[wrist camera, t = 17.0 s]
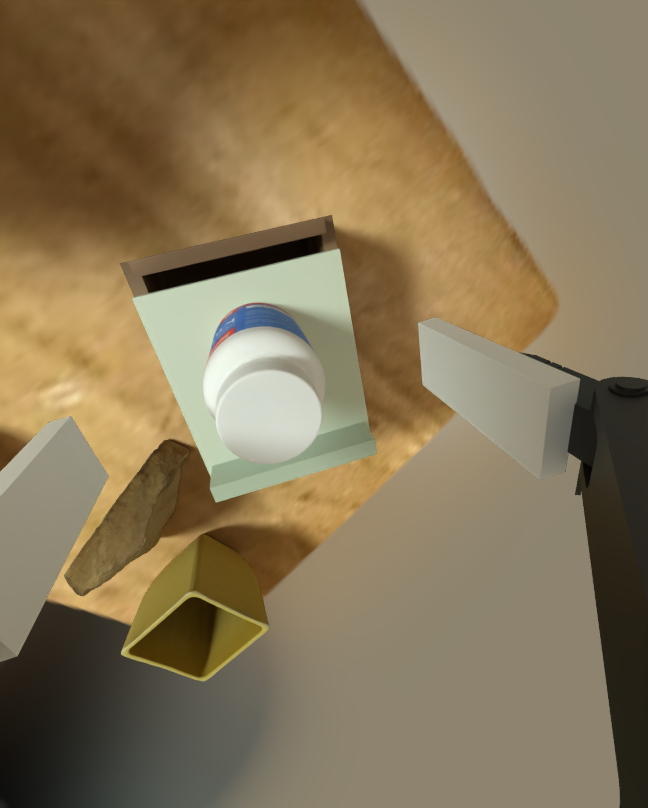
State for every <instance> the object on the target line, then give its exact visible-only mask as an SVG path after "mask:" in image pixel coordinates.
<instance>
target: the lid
mask: <svg viewBox="0 0 648 808" xmlns="http://www.w3.org/2000/svg"><path fill="white" fill-rule="evenodd" d="M132 300H133V302H134V305H135V307H136V309H137V311H138V314H139V316H140V318H141V320H142V323H143V325H144V327H145V329H146V332H147V334H148V336H149V338H150V341H151V343H152V345H153V348H154V350H155V352H156V354H157V357H158V359H159V361H160V363H161V366H162V368H163V370H164V372H165V375H166V377H167V379H168V382H169V384H170V386H171V388H172V391H173V393H174V395H175V397H176V400H177V402H178V404H179V406H180V409H181V411H182V413H183V415H184V418H185V420H186V422H187V425H188V427H189V429H190V431H191V434H192V436H193V438H194V440H195V443H196V445H197V447H198V449H199V452H200V454H201V456H202V459H203V461H204V463H205V465H206V468H207V470H208V472H209V474H210V477H211V481H210V491H211V493H212V495H213V497H214V499H215V502H216V503H217V502H220V501H223V500H227V499H230V498H233V497H237V496H240V495H243V494H246V493H250V492H253V491H256V490H260V489H263V488H266V487H270V486H273V485H276V484H279V483H283V482H286V481H289V480H293V479H296V478H299V477H303V476H306V475H309V474H312V473H316V472H319V471H322V470H326V469H329V468H332V467H336V466H339V465H342V464H345V463H349V462H352V461H355V460H359V459H362V458H365V457H368V456H372V455H375V454H377V449H376V443H375V439H374V437H373V436H372V434H371V433H370V427H369V421H368V415H367V409H366V403H365V397H364V391H363V385H362V379H361V373H360V367H359V361H358V355H357V349H356V344H355V338H354V332H353V326H352V320H351V314H350V308H349V302H348V296H347V290H346V284H345V278H344V272H343V266H342V260H341V254H340V249H332V250H328V251H324V252H320V253H316V254H311V255H307V256H303V257H299V258H295V259H290V260H286V261H282V262H278V263H274V264H270V265H265V266H261V267H257V268H253V269H249V270H244V271H240V272H236V273H232V274H228V275H223V276H219V277H215V278H211V279H207V280H202V281H198V282H194V283H190V284H186V285H181V286H177V287H173V288H169V289H165V290H160V291H156V292H152V293H148V294H144V295H139V296H135V297H134V298H132ZM253 302H262V303H269V304H272V305H275V306H277V307H279V308H281V309H283V310H284V311H286V312H287V313H288V314H289V315H290V316H291V317H292V318H293V319H294V320H295V321H296V322H297V324H298V325H299V327H300V329H301V330H302V331H303V333H304V335H305V336H306V338H307V340H308V342H309V343H310V345H311V347H312V348H313V350H314V351H315V353H316V355H317V357H318V359H319V361H320V363H321V365H322V368H323V371H324V376H325V396H324V400H323V403H322V413H323V414H322V424H321V428H320V430H319V433H318V435H317V437H316V438H315V440H314V441H313V443H312V444H311V445H310V446H309V447H308V448H307V449H306V450H305V451H304V452H303V453H301V454H300V455H298V456H296V457H295V458H293V459H290V460H288V461H285V462H282V463H276V464H257V463H253V462H249V461H246V460H244V459H242V458H240V457H238V456H236V455H235V454H233V453H232V452H231V451H230V450H229V449H228V448H227V447H226V446H225V444H224V443H223V442H222V440H221V438H220V436H219V434H218V431H217V427H216V421H215V420H214V419H213V417H212V416H211V414H210V412H209V410H208V408H207V406H206V403H205V399H204V394H203V379H204V371H205V367H206V364H207V361H208V357H209V354H210V350H211V346H212V342H213V338H214V334H215V331H216V329H217V327H218V325H219V323H220V322H221V321H222V319H223V318H224V317H225V316H226V315H227V314H228V313H229V312H230V311H232V310H233V309H235V308H236V307H239V306H241V305H244V304H247V303H253Z"/></svg>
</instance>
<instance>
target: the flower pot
mask: <svg viewBox="0 0 648 808" xmlns="http://www.w3.org/2000/svg"><path fill="white" fill-rule="evenodd" d="M268 629H269V624H268V620H267V615H266V611H265V606H264V601H263V597H262V593H261V589H260V585H259V582H258V579H257V577H256V575H255V573H254V571H253V570H252V568H251V567H250V565H249V564H248V563H247V561H246V560H245V559H244V558H243V557H242V556H241V555H240V554H239V553H238V552H236V551H234V550H233V549H231V548H229V547H227V546H225V545H223V544H222V543H220V542H218V541H216V540H214V539H213V538H211V537H209V536H208V535H205V534H203V535H200V536H199V537H197V538H196V539H195V540H194V541H193V542H192V543H191V544H190V545H189V546H188V547H187V548H185V549H184V550H183V551H182V552H181V553H180V554H179V555H178V556H176V557H175V558H174V559H173V560H172V561H171V562H170V563H169V564H168V565H167V566H166V567H165V568H164V569H163V570H162V571H161V572H160V574H159V575H158V576H157V577H156V578H155V580H154V581H153V582H152V584H151V585H150V587H149V588H148V590H147V592H146V593H145V595H144V597H143V599H142V601H141V603H140V606H139V608H138V611H137V613H136V616H135V618H134V621H133V623H132V626H131V628H130V631H129V634H128V636H127V639H126V642H125V644H124V646H123V649H122V652H121V654H122V655H123V656H126V657H128V658H131V659H134V660H137V661H141V662H144V663H148V664H151V665H154V666H158V667H162V668H164V669H167V670H170V671H173V672H176V673H179V674H181V675H184V676H186V677H190V678H193V679H195V680H200V681H206V680H207V679H209V678H210V677H212V676H213V675H214V674H215V673H216V672H217V671H219V670H220V669H221V668H222V667H224V666H225V665H226V664H227V663H228V662H229V661H231V660H232V659H233V658H234V657H236V656H237V655H238V654H239V653H241V652H242V651H243V650H244V649H245V648H247V647H248V646H249V645H250V644H252V643H253V642H254V641H256V640H257V639H258V638H259V637H260V636H262V635H263V634H264V633H265V632H266V631H267V630H268Z"/></svg>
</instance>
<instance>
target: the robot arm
mask: <svg viewBox="0 0 648 808" xmlns="http://www.w3.org/2000/svg"><path fill="white" fill-rule="evenodd" d="M418 330H419V344H420V357H421V371H422V384H423V386H425V387H426V388H427V389H428V390H429V391H431V392H432V393H433V394H434V395H436V396H437V397H438V398H439V399H441V400H442V401H443V402H444V403H445V404H447V405H448V406H449V407H450V408H452V409H453V410H454V411H455V412H457V413H458V414H459V415H460V416H461V417H463V418H464V419H465V420H467V421H468V422H469V423H470V424H471V425H473V426H474V427H475V428H476V429H477V430H479V431H480V432H481V433H483V434H484V435H485V436H486V437H487V438H489V439H490V440H491V441H492V442H493V443H495V444H496V445H497V446H498V447H500V448H501V449H502V450H503V451H505V452H506V453H507V454H509V455H510V456H511V457H512V458H513V459H515V460H516V461H517V462H518V463H520V464H521V465H522V466H523V467H524V468H526V469H527V470H528V471H529V472H530V473H532V474H533V475H534V476H535V477H537V478H538V479H539V480H542V479H545V478H548V477H551V476H554V475H557V474H560V473H563V472H565V471H566V466H567V459H568V453H570V454H572V455H573V456H575V457H576V458H578V459H579V460H581V465H580V471H579V476H578V481H577V487H576V492H575V495H580V494H581V491H582V498H583V506H584V514H585V522H586V529H587V537H588V545H589V553H590V560H591V568H592V576H593V584H594V591H595V599H596V607H597V614H598V622H599V630H600V637H601V645H602V653H603V661H604V668H605V676H606V684H607V692H608V699H609V707H610V715H611V722H612V730H613V738H614V746H615V753H616V761H617V769H618V776H619V787H620V808H648V380H644V379H640V378H632V377H612V378H607V379H603V380H601V381H597V380H595V379H592V378H590V377H588V376H585V375H583V374H580V373H578V372H575V371H573V370H570V369H568V368H565V367H564V368H562V366H561V365H558V364H556V363H551V362H550V361H549V360H546V359H544V358H541V357H539V356H536V355H531V354H525V353H520V352H516V351H514V350H511V349H509V348H507V347H504V346H502V345H500V344H497V343H495V342H493V341H490V340H488V339H486V338H483V337H481V336H478V335H476V334H474V333H471V332H469V331H467V330H464V329H462V328H460V327H457V326H455V325H453V324H450V323H448V322H446V321H443V320H441V319H439V318H432V319H428V320H425V321H421V322H418ZM108 477H109V476H108V474H107V473H106V471H105V470H104V468H103V466H102V465H101V463H100V462H99V460H98V458H97V457H96V455H95V454H94V452H93V450H92V449H91V447H90V445H89V444H88V442H87V441H86V439H85V437H84V436H83V434H82V433H81V431H80V429H79V428H78V426H77V425H76V423H75V421H74V420H73V418H72V417H71V416H69V417H66V418H62V419H58V420H54V421H51V422H48V423H47V424H46V425H45V426H44V427H43V428H42V429H41V430H40V431H39V432H38V433H37V434H36V435H35V436H34V438H33V439H32V440H31V441H30V442H29V443H28V444H27V445H26V446H25V447H24V448H23V449H22V450H21V451H20V452H19V453H18V454H17V455H16V456H15V457H14V458H13V459H12V460H11V461H10V462H9V463H8V464H7V465H6V466H5V467H4V468H3V469H2V471H1V472H0V662H1V661H4V660H7V659H10V658H12V657H16V656H18V653H19V652H20V650H21V648H22V646H23V644H24V642H25V640H26V638H27V636H28V634H29V632H30V630H31V628H32V626H33V624H34V622H35V620H36V618H37V616H38V614H39V612H40V610H41V608H42V606H43V604H44V603H45V601H46V599H47V597H48V595H49V593H50V591H51V589H52V587H53V585H54V583H55V581H56V579H57V577H58V575H59V573H60V571H61V569H62V567H63V565H64V563H65V561H66V559H67V557H68V555H69V553H70V551H71V550H72V548H73V546H74V544H75V542H76V540H77V538H78V536H79V534H80V532H81V530H82V528H83V526H84V524H85V522H86V520H87V518H88V516H89V514H90V512H91V510H92V508H93V506H94V504H95V502H96V500H97V498H98V496H99V494H100V492H101V491H102V489H103V487H104V485H105V483H106V481H107V479H108Z"/></svg>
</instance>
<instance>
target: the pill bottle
mask: <svg viewBox="0 0 648 808" xmlns="http://www.w3.org/2000/svg"><path fill="white" fill-rule="evenodd" d="M203 394H204V399H205V403H206V406H207V408H208V410H209V412H210V414H211V416H212V417H213V419H214V420H215V421H216V427H217V431H218V434H219V436H220V438H221V440H222V442H223V443H224V444H225V446H226V447H227V448H228V449H229V450H230V451H231V452H232V453H233V454H235V455H236V456H238V457H240V458H242V459H244V460H246V461H249V462H253V463H257V464H276V463H282V462H285V461H288V460H290V459H293V458H295V457H296V456H298V455H300V454H301V453H303V452H304V451H305V450H306V449H307V448H308V447H309V446H310V445H311V444H312V443H313V441H314V440H315V438H316V437H317V435H318V433H319V430H320V428H321V424H322V414H323V413H322V403H323V400H324V396H325V376H324V371H323V368H322V365H321V363H320V361H319V359H318V357H317V355H316V353H315V351H314V350H313V348H312V347H311V345H310V343H309V342H308V340H307V338H306V336H305V335H304V333H303V331H302V330H301V329H300V327H299V325H298V324H297V322H296V321H295V320H294V319H293V318H292V317H291V316H290V315H289V314H288V313H287V312H286V311H284V310H283V309H281V308H279V307H277V306H275V305H272V304H269V303H262V302H253V303H247V304H244V305H241V306H239V307H236V308H235V309H233V310H232V311H230V312H229V313H228V314H227V315H226V316H225V317H224V318H223V319H222V321H221V322H220V323H219V325H218V327H217V329H216V331H215V334H214V338H213V342H212V346H211V350H210V354H209V357H208V361H207V364H206V367H205V371H204V379H203Z"/></svg>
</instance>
